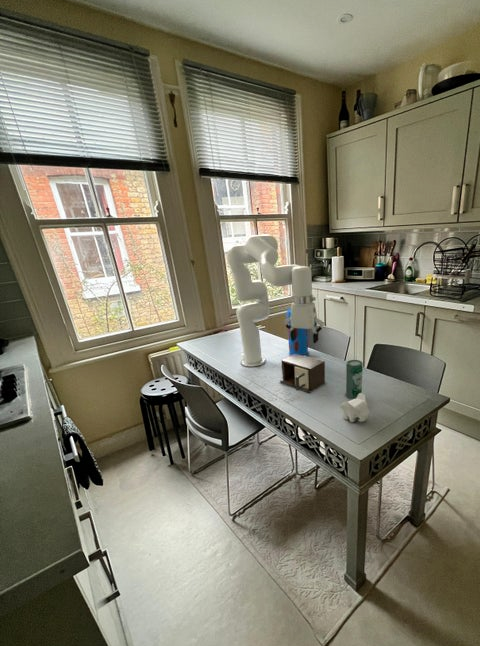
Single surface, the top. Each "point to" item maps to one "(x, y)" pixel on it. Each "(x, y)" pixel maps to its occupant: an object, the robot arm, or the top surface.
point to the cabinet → (312, 365)
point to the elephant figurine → (356, 409)
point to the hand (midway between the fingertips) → (304, 341)
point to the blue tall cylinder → (298, 340)
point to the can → (353, 378)
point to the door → (301, 378)
